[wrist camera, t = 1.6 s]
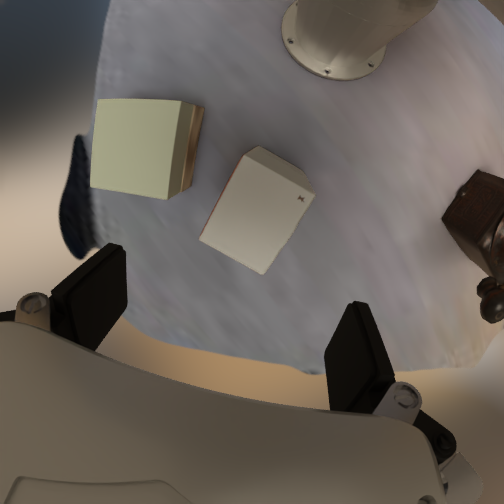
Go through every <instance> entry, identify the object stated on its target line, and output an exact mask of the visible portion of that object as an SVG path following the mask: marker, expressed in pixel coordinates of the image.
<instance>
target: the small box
mask: <svg viewBox="0 0 504 504" xmlns="http://www.w3.org/2000/svg"><path fill="white" fill-rule="evenodd" d="M315 196H316V194H315V192H314V191H313V189H312V187H311V185H310V183H309V181H308V179H307V177H306V175H305V173H304V172H303V171H302V170H300V169H299V168H297V167H295V166H294V165H292V164H290V163H289V162H287V161H285V160H283V159H282V158H280V157H278V156H277V155H275V154H273V153H271V152H270V151H268V150H266V149H264V148H262V147H261V146H257V147H255V148H254V149H252V150H250V151H249V152H247V153H245V154H244V155H242V157H241V158H240V160H239V162H238V164H237V166H236V167H235V169H234V171H233V173H232V175H231V177H230V178H229V180H228V182H227V184H226V186H225V188H224V190H223V192H222V193H221V195H220V197H219V199H218V201H217V203H216V205H215V207H214V209H213V211H212V213H211V215H210V217H209V219H208V221H207V223H206V224H205V226H204V229H203V231H202V233H201V235H200V237H199V240H200V241H202V242H204V243H205V244H207V245H209V246H211V247H213V248H215V249H216V250H218V251H220V252H222V253H223V254H225V255H227V256H229V257H231V258H232V259H234V260H236V261H238V262H239V263H241V264H243V265H245V266H247V267H248V268H250V269H252V270H254V271H255V272H257V273H259V274H261V275H263V274H265V272H266V271H267V270H268V268H269V267H270V265H271V264H272V262H273V261H274V260H275V258H276V257H277V255H278V254H279V252H280V251H281V249H282V248H283V247H284V245H285V244H286V242H287V241H288V240H289V238H290V237H291V235H292V234H293V232H294V231H295V229H296V227H297V225H298V224H299V222H300V220H301V219H302V217H303V215H304V214H305V212H306V211H307V209H308V208H309V206H310V204H311V203H312V201H313V200H314V198H315Z"/></svg>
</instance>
